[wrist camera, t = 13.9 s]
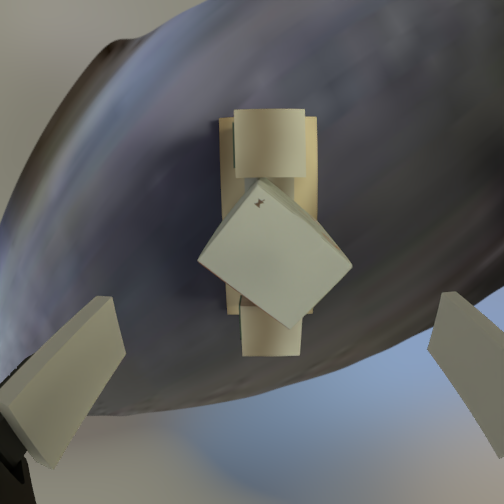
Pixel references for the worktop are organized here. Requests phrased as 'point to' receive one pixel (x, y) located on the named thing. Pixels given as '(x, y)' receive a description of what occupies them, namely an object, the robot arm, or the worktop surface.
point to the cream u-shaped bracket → (281, 175)
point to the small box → (275, 254)
